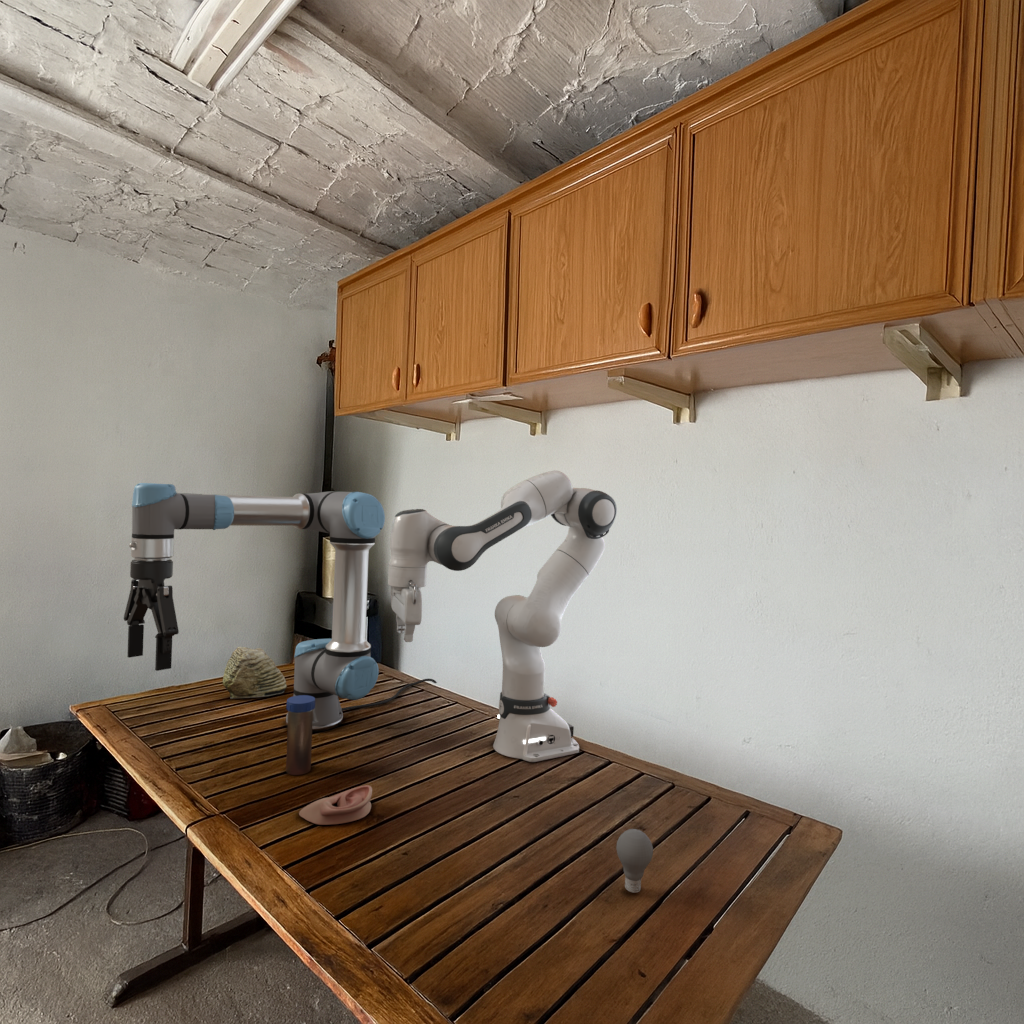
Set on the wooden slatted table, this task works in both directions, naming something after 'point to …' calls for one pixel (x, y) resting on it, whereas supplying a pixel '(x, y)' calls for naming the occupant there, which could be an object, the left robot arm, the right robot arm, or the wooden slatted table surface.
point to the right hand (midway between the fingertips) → (404, 636)
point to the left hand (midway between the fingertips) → (148, 662)
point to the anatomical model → (339, 807)
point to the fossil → (252, 674)
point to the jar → (299, 742)
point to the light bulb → (634, 857)
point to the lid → (300, 703)
